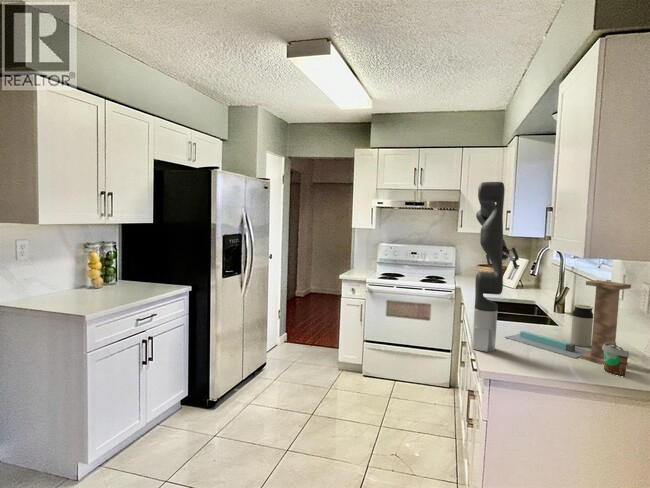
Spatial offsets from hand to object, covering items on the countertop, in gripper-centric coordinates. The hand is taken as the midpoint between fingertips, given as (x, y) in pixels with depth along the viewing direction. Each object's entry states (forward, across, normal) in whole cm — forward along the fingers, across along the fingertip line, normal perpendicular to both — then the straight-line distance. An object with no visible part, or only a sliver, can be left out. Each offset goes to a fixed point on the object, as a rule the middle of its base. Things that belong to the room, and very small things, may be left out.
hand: (506, 270), depth 196 cm
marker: (+35, -6, -10) cm, 37 cm away
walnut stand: (+48, -23, 0) cm, 53 cm away
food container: (+54, -22, +11) cm, 59 cm away
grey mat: (+36, -7, -10) cm, 38 cm away
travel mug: (+36, -21, -19) cm, 46 cm away
